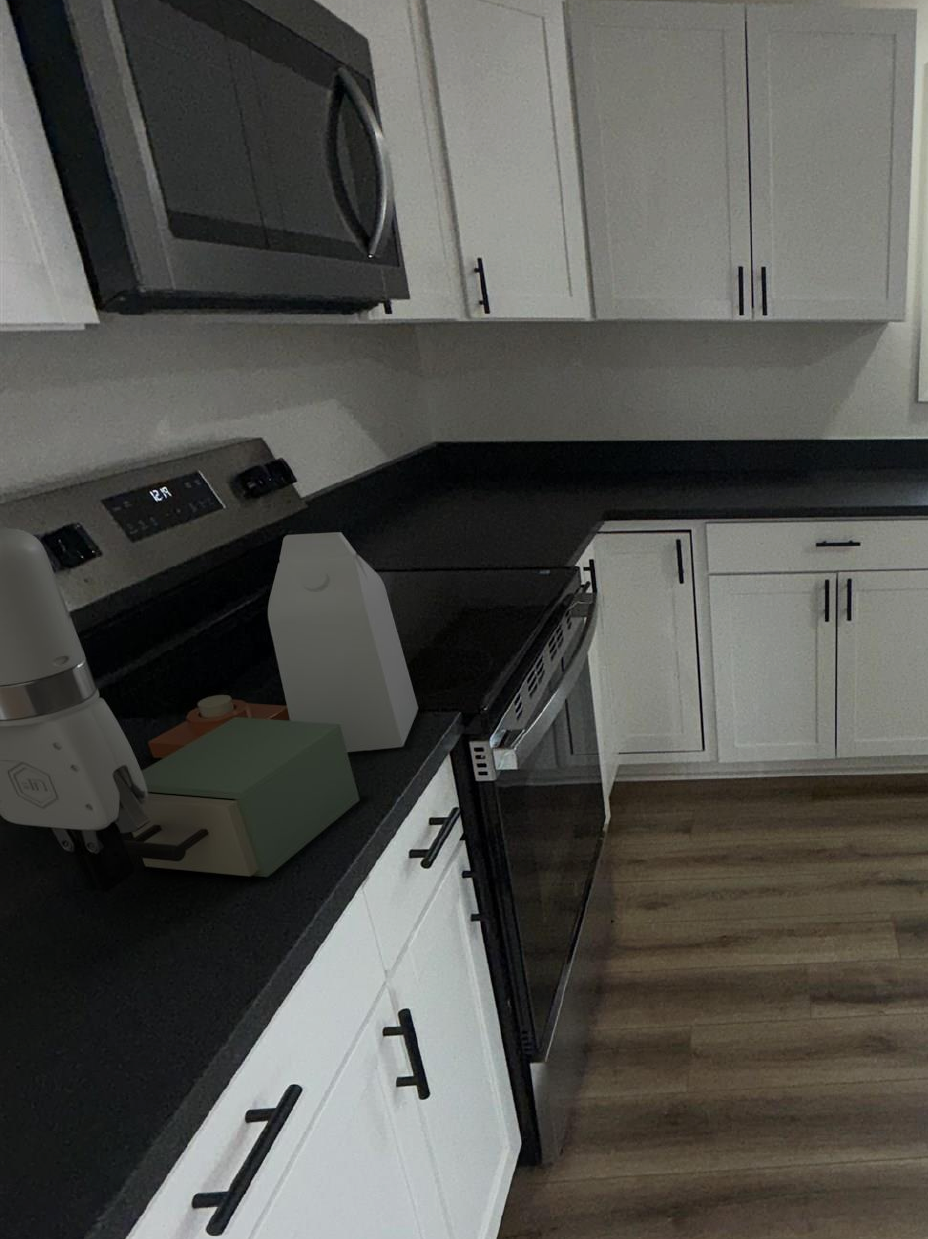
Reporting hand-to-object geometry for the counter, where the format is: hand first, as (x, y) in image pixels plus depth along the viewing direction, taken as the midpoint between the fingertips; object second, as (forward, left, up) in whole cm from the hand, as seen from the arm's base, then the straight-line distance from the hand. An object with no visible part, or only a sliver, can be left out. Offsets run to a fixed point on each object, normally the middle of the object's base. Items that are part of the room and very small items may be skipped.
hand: (112, 881), depth 77 cm
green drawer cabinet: (+8, +14, -5) cm, 17 cm away
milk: (+16, +36, -5) cm, 40 cm away
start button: (0, +40, -2) cm, 40 cm away
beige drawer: (+6, +11, -4) cm, 13 cm away
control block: (0, +40, -5) cm, 41 cm away
